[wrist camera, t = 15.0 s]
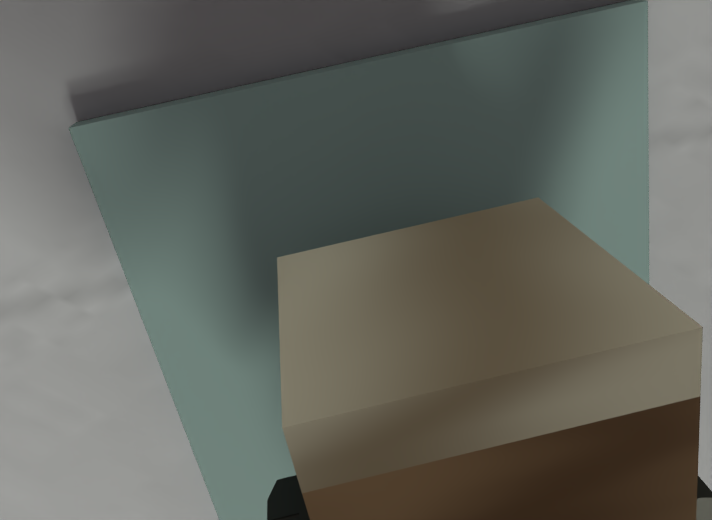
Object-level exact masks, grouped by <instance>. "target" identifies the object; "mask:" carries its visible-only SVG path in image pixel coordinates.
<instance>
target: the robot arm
mask: <svg viewBox="0 0 712 520" xmlns="http://www.w3.org/2000/svg"><path fill="white" fill-rule="evenodd" d="M267 520H310V518H309V515H308V512H307V508H306V505H305V502H304V498H303V495H302V492H301V488H300V485H299V482H298V479H297V475H295V476H290V477H286V478H282V479H278V480H277V481H276V483H275V485H274V487H273V489H272V491H271V493H270V495H269V497H268V500H267ZM696 520H712V491H711V490H710V489H709V488H708V487H707V486H706V484H705V483H704V482H703V481H702V480H701V479H700V477H699V476H698V479H697V509H696Z"/></svg>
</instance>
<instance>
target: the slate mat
mask: <svg viewBox="0 0 712 520" xmlns="http://www.w3.org/2000/svg"><path fill="white" fill-rule="evenodd" d="M69 131H70V134H71V136H72V139H73V141H74V144H75V146H76V149H77V152H78V154H79V157H80V159H81V162H82V165H83V167H84V170H85V172H86V175H87V178H88V180H89V183H90V185H91V188H92V191H93V193H94V196H95V198H96V201H97V204H98V206H99V209H100V211H101V214H102V217H103V219H104V222H105V224H106V227H107V230H108V232H109V235H110V237H111V240H112V242H113V245H114V248H115V250H116V253H117V255H118V258H119V261H120V263H121V266H122V268H123V271H124V274H125V276H126V279H127V281H128V284H129V287H130V289H131V292H132V294H133V297H134V300H135V302H136V305H137V307H138V310H139V313H140V315H141V318H142V320H143V323H144V325H145V328H146V331H147V333H148V336H149V338H150V341H151V344H152V346H153V349H154V351H155V354H156V357H157V359H158V362H159V364H160V367H161V370H162V372H163V375H164V377H165V380H166V383H167V385H168V388H169V390H170V393H171V396H172V398H173V401H174V403H175V406H176V408H177V411H178V414H179V416H180V419H181V421H182V424H183V427H184V429H185V432H186V434H187V437H188V440H189V442H190V445H191V447H192V450H193V453H194V455H195V458H196V460H197V463H198V466H199V468H200V471H201V473H202V476H203V479H204V481H205V484H206V486H207V489H208V491H209V494H210V497H211V499H212V502H213V504H214V507H215V510H216V512H217V515H218V517H219V520H267V500H268V497H269V495H270V493H271V491H272V489H273V487H274V485H275V483H276V481H277V480H278V479H282V478H286V477H290V476H295V475H296V472H295V469H294V465H293V462H292V459H291V455H290V452H289V449H288V446H287V442H286V439H285V436H284V432H283V429H282V407H281V373H280V340H279V306H278V273H277V257H281V256H285V255H290V254H294V253H299V252H303V251H307V250H312V249H316V248H320V247H325V246H329V245H333V244H338V243H342V242H346V241H351V240H355V239H359V238H364V237H368V236H372V235H377V234H381V233H386V232H390V231H394V230H399V229H403V228H407V227H412V226H416V225H420V224H425V223H429V222H433V221H438V220H442V219H446V218H451V217H455V216H459V215H464V214H468V213H473V212H477V211H481V210H486V209H490V208H494V207H499V206H503V205H507V204H512V203H516V202H520V201H525V200H529V199H533V198H540V199H541V200H542V201H543V202H545V203H546V204H547V205H549V206H550V207H551V208H552V209H554V210H555V211H556V212H557V213H559V214H560V215H561V216H562V217H564V218H565V219H566V220H568V221H569V222H570V223H571V224H573V225H574V226H575V227H576V228H578V229H579V230H580V231H582V232H583V233H584V234H585V235H587V236H588V237H589V238H590V239H592V240H593V241H594V242H595V243H597V244H598V245H599V246H601V247H602V248H603V249H604V250H606V251H607V252H608V253H609V254H611V255H612V256H613V257H614V258H616V259H617V260H618V261H620V262H621V263H622V264H623V265H625V266H626V267H627V268H628V269H630V270H631V271H632V272H633V273H635V274H636V275H637V276H639V277H640V278H641V279H642V280H644V281H645V282H646V283H647V284H649V162H648V1H647V0H629V1H625V2H620V3H616V4H611V5H607V6H602V7H598V8H593V9H589V10H584V11H579V12H575V13H570V14H566V15H561V16H557V17H552V18H548V19H543V20H539V21H534V22H529V23H525V24H520V25H516V26H511V27H507V28H502V29H498V30H493V31H489V32H484V33H480V34H475V35H470V36H466V37H461V38H457V39H452V40H448V41H443V42H439V43H434V44H430V45H425V46H420V47H416V48H411V49H407V50H402V51H398V52H393V53H389V54H384V55H380V56H375V57H370V58H366V59H361V60H357V61H352V62H348V63H343V64H339V65H334V66H330V67H325V68H321V69H316V70H311V71H307V72H302V73H298V74H293V75H289V76H284V77H280V78H275V79H271V80H266V81H261V82H257V83H252V84H248V85H243V86H239V87H234V88H230V89H225V90H221V91H216V92H211V93H207V94H202V95H198V96H193V97H189V98H184V99H180V100H175V101H171V102H166V103H162V104H157V105H152V106H148V107H143V108H139V109H134V110H130V111H125V112H121V113H116V114H112V115H107V116H102V117H98V118H93V119H89V120H84V121H80V122H76V123H75V124H74V125H72V126H71V127H69Z"/></svg>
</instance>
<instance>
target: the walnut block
mask: <svg viewBox="0 0 712 520" xmlns="http://www.w3.org/2000/svg"><path fill="white" fill-rule="evenodd" d="M277 273H278V306H279V340H280V373H281V407H282V429H283V432H284V436H285V439H286V442H287V446H288V449H289V452H290V455H291V459H292V462H293V465H294V469H295V472H296V475H297V479H298V482H299V485H300V488H301V492H302V495H303V498H304V502H305V505H306V508H307V512H308V515H309V518H310V520H696V509H697V479H698V450H699V420H700V390H701V360H702V330H703V327H702V326H701V325H699V324H698V323H697V322H696V321H694V320H693V319H692V318H690V317H689V316H688V315H687V314H685V313H684V312H683V311H682V310H680V309H679V308H678V307H677V306H675V305H674V304H673V303H671V302H670V301H669V300H668V299H666V298H665V297H664V296H663V295H661V294H660V293H659V292H658V291H656V290H655V289H654V288H652V287H651V286H650V285H649V284H647V283H646V282H645V281H644V280H642V279H641V278H640V277H639V276H637V275H636V274H635V273H633V272H632V271H631V270H630V269H628V268H627V267H626V266H625V265H623V264H622V263H621V262H620V261H618V260H617V259H616V258H614V257H613V256H612V255H611V254H609V253H608V252H607V251H606V250H604V249H603V248H602V247H601V246H599V245H598V244H597V243H595V242H594V241H593V240H592V239H590V238H589V237H588V236H587V235H585V234H584V233H583V232H582V231H580V230H579V229H578V228H576V227H575V226H574V225H573V224H571V223H570V222H569V221H568V220H566V219H565V218H564V217H562V216H561V215H560V214H559V213H557V212H556V211H555V210H554V209H552V208H551V207H550V206H549V205H547V204H546V203H545V202H543V201H542V200H541V199H540V198H533V199H529V200H525V201H520V202H516V203H512V204H507V205H503V206H499V207H494V208H490V209H486V210H481V211H477V212H473V213H468V214H464V215H459V216H455V217H451V218H446V219H442V220H438V221H433V222H429V223H425V224H420V225H416V226H412V227H407V228H403V229H399V230H394V231H390V232H386V233H381V234H377V235H372V236H368V237H364V238H359V239H355V240H351V241H346V242H342V243H338V244H333V245H329V246H325V247H320V248H316V249H312V250H307V251H303V252H299V253H294V254H290V255H285V256H281V257H277Z"/></svg>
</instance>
